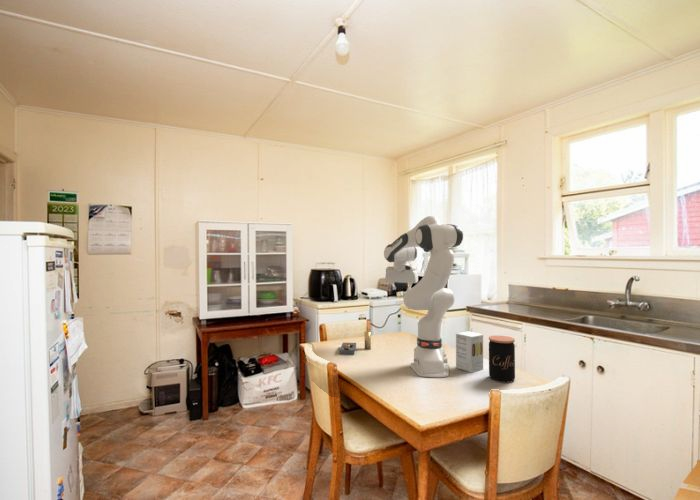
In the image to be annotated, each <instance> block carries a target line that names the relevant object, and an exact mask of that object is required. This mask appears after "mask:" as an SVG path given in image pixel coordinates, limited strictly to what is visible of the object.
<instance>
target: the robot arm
mask: <svg viewBox="0 0 700 500" xmlns="http://www.w3.org/2000/svg"><path fill="white" fill-rule="evenodd" d="M463 240H464V233H463V229H462V228H461V227H460V226H459V225H456V224H452V223H451V224H449V223H447V224H441V222H440V220H439V219H438V218H437V217H435V216H433V215H430V216H429V215H428V216H426V217H424V218H422V219H421V220H420V221H419V222H418V223H417V224H416V225H415V226H414V227H413V228H412V229H410V230H408V231H407V232H405V233H403V234H401V235H400V236H399V237H397V238H396V239H395V240H394V241H393V242H392V243H391V244H389V243H388V244H387V246H386V247H385V248H384V251H383V256H384V259H385V260H386V261H387V262H389V263H393V266H387V267H386V268H385V279H384V280H385V282H387V283H390V285H391V287H392V291H395V290H397V286H396V285H395V283H401V284H403V283H404V284H407V285H408V287H406V291H405V292H404V294H403V296H402V297H403V303H404V304H403V305H404V306H405V307H406V308H407V309H408V310H412V311H427V312H426V314H425V315H424V316H423V317H421V318H420V319H419V320H418V322H417V337H416V344H417V345H416V347H415V348H414V349H413V362H410V365H409V367H410V368H411V369H412V370H413V371H414V372H415V374H416V375H417V376H418V377H424V378H446V377H447V378H448V377H449V376H450V375H449V374H450V373H449V372H450V364H449V363H448V358H446V357H447V353H445V348H443V340H442V337H441V332H442V322H443V319H444V316H445V314H446V313H447V312H448V310H449V309H450V308H451V307H453V305H454V303H455V293H454V292H453V291H452V290H451V289H450V288H447V287H446V285H448V281H449V279H450V276H451V273H452V271H453V266H454V263H455V253H454V251H453V250H452V249H451V248H457V247H459V246H460V245H461V244H462V242H463ZM419 247H420V248H421V249H422V250H423V252H424V253H430V257H429V260H428V262H427V265H426V268H425V271H424V275H423V276H422V278H421V279H420V280H419V275H418V274H419V273H418V271H417V266H416V265H413V264H410V262H413V261H415V260H416V258H417V256H418V249H417V248H419ZM413 284H415V285H414V286H413ZM412 286H413V287H412Z"/></svg>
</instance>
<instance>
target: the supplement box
mask: <svg viewBox="0 0 700 500" xmlns="http://www.w3.org/2000/svg"><path fill="white" fill-rule="evenodd" d="M455 367H456V368H457V369H460V370H462V371H464V372H465V371H466V372H469V373H474V372H478V371H481V370H484V334H482V333H478V332H473V331H468V330H467V331H462V332H457V333H455Z"/></svg>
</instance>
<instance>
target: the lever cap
mask: <svg viewBox="0 0 700 500" xmlns="http://www.w3.org/2000/svg"><path fill="white" fill-rule="evenodd" d="M371 334H372V332H371V331H370V330H369V331H364V350H365V351H370V350H372V346H371V345H372V338H371V337H372V335H371Z"/></svg>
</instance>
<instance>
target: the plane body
mask: <svg viewBox="0 0 700 500" xmlns="http://www.w3.org/2000/svg"><path fill="white" fill-rule="evenodd" d="M356 349H357V342H342V343H341V346H340V348H339V355H345V356H348V355H349V356H350V355H351V356H354V355H355V353H356Z"/></svg>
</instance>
